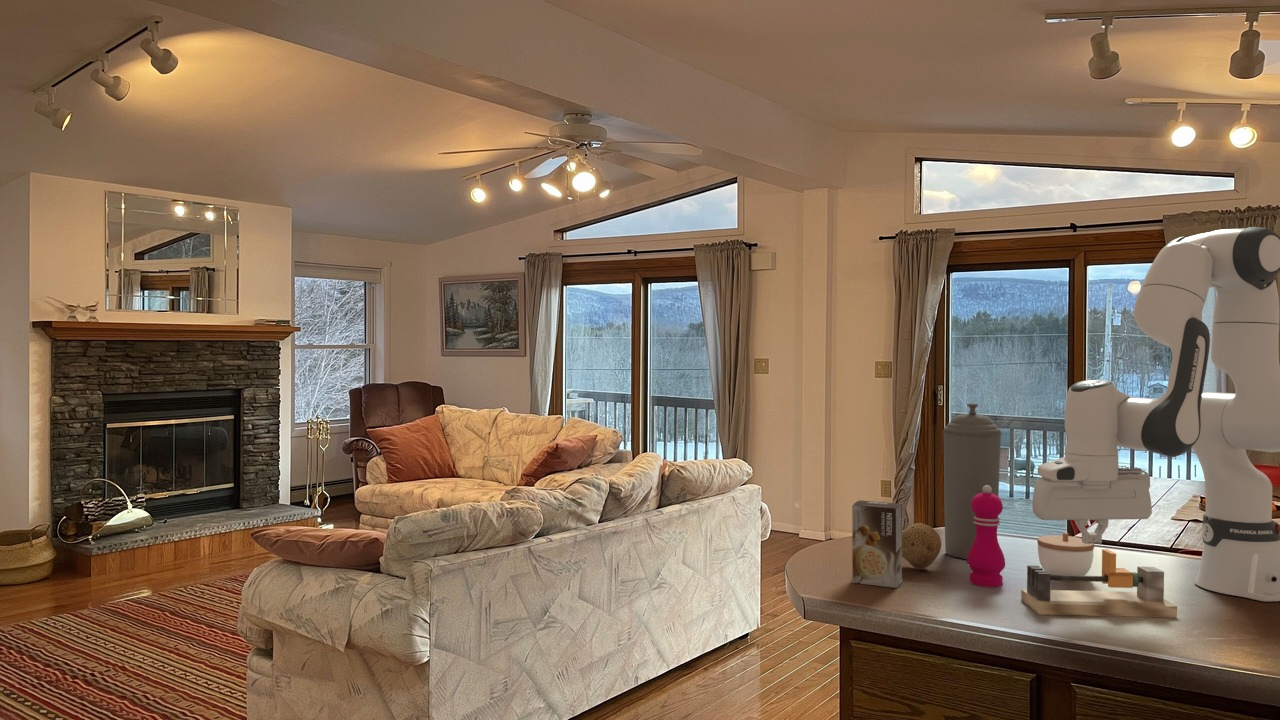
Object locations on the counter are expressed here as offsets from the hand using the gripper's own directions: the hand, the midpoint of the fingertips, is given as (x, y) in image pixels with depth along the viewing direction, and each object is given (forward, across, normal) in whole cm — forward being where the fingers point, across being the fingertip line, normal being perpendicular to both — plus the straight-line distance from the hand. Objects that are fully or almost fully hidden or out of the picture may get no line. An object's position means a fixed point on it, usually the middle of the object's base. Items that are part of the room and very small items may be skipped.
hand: (1091, 543), depth 166 cm
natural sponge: (+12, +25, -26) cm, 38 cm away
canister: (+12, +10, -40) cm, 43 cm away
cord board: (+12, -1, 0) cm, 12 cm away
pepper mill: (+12, +14, -16) cm, 24 cm away
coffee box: (+12, +36, -15) cm, 41 cm away
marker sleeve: (+8, -4, 0) cm, 9 cm away
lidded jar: (+13, -4, -22) cm, 25 cm away
